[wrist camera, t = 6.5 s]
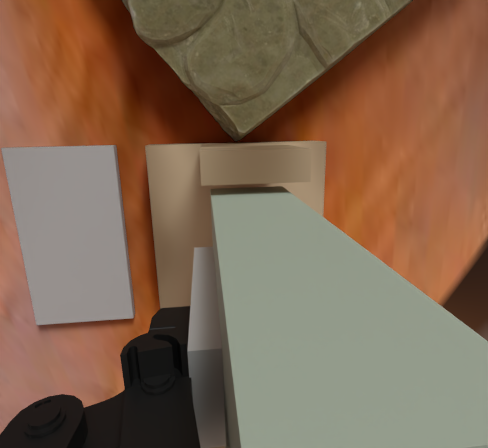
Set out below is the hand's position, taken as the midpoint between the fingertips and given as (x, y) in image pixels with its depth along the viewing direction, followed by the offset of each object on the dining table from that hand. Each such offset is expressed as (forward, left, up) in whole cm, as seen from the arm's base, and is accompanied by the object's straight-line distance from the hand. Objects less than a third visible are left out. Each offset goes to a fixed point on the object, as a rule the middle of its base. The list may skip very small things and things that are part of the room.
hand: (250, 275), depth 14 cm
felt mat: (-10, 0, -8) cm, 13 cm away
